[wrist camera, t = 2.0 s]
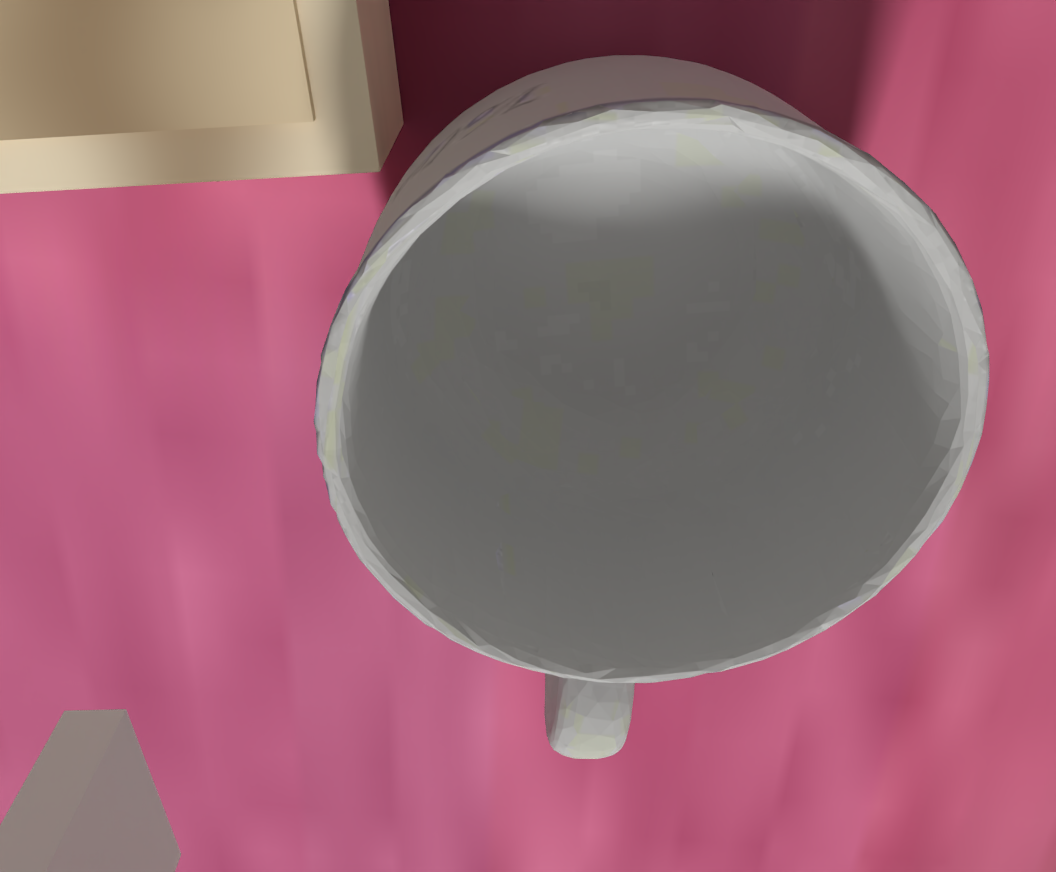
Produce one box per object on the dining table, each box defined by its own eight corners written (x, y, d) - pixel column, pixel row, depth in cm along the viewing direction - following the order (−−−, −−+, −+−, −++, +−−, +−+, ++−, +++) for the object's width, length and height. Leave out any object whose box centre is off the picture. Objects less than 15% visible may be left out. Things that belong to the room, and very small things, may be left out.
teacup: (449, -61, 19) (396, -2, 13) (954, 106, 21) (1153, 241, 14) (318, 504, 26) (238, 740, 19) (703, 599, 28) (754, 850, 21)
